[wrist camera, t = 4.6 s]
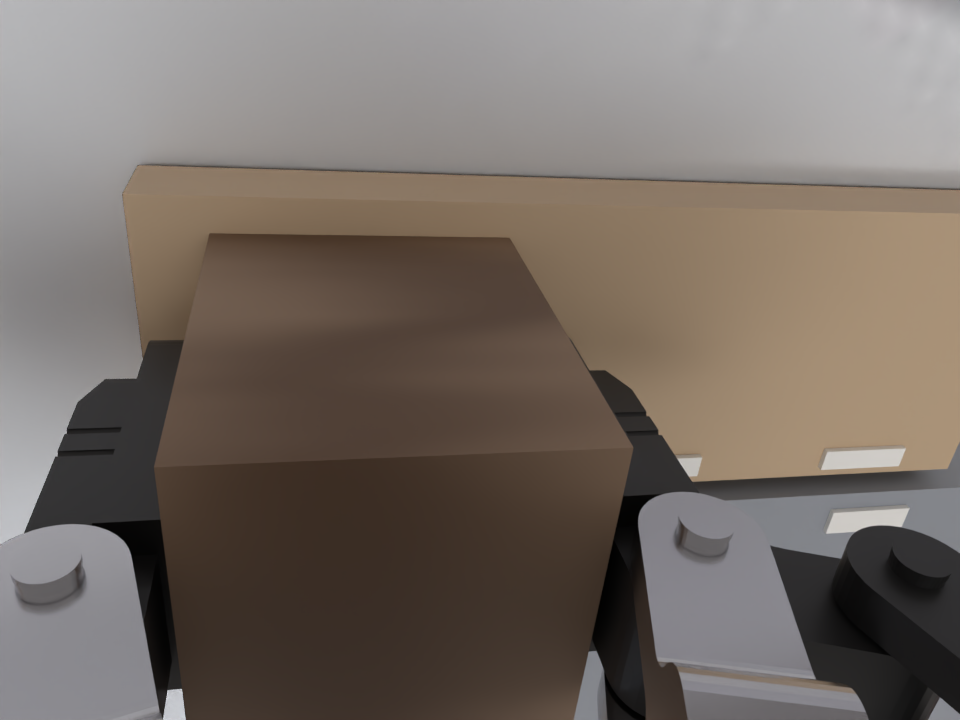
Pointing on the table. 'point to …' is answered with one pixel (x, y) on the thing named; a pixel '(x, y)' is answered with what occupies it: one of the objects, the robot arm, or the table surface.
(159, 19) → the table surface
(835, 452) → the strip
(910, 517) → the board
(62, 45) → the table surface
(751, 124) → the table surface
